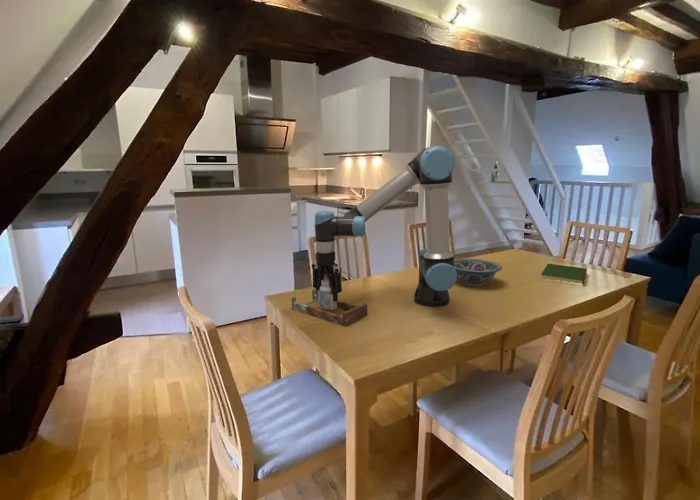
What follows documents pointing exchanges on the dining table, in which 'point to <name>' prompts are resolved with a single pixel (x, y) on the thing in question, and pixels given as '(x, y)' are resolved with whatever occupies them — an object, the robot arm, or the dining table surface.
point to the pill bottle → (325, 294)
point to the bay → (348, 317)
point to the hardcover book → (564, 273)
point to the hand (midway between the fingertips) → (327, 306)
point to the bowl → (475, 271)
